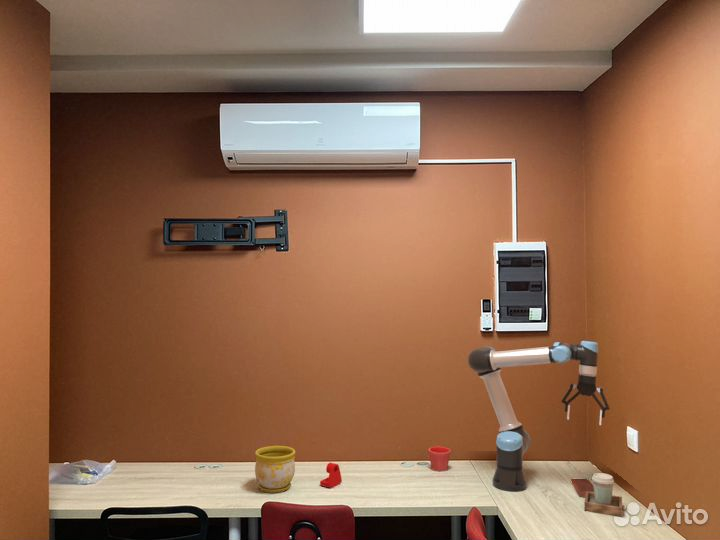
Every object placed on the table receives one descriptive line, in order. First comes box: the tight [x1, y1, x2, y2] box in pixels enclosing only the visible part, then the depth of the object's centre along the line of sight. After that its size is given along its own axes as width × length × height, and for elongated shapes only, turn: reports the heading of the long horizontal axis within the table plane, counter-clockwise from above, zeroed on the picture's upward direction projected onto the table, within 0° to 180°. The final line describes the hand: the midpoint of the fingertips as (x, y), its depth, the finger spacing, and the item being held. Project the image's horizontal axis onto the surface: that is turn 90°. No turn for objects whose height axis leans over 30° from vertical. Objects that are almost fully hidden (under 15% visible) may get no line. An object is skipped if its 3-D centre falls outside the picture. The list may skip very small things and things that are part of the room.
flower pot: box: [428, 446, 451, 472], centre depth 277 cm, size 11×11×10 cm
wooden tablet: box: [570, 478, 594, 499], centre depth 252 cm, size 27×10×2 cm, turn 169°
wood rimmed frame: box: [583, 491, 623, 518], centre depth 229 cm, size 14×14×4 cm
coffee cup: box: [591, 472, 615, 506], centre depth 229 cm, size 8×8×12 cm
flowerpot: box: [254, 445, 296, 494], centre depth 248 cm, size 18×18×16 cm
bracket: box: [319, 462, 343, 489], centre depth 253 cm, size 9×6×10 cm
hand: (583, 422), depth 250 cm, fingers open, 13 cm apart
